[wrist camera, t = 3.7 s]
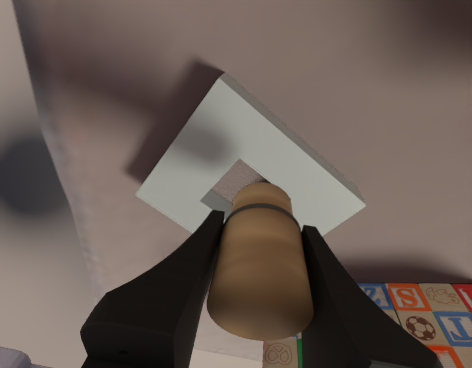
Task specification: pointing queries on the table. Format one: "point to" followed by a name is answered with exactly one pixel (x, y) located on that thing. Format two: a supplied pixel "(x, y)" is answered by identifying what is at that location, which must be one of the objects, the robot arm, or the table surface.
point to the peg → (261, 268)
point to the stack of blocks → (407, 322)
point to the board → (253, 154)
